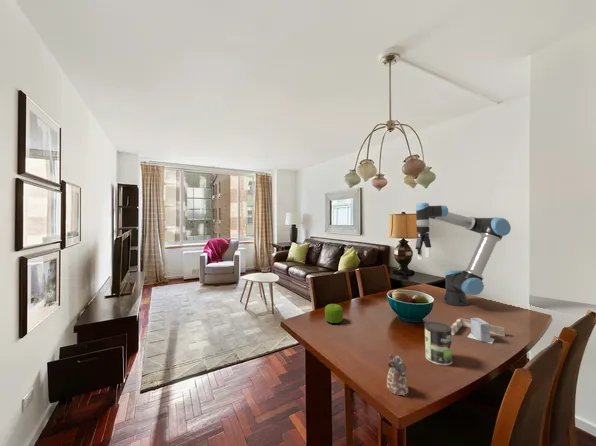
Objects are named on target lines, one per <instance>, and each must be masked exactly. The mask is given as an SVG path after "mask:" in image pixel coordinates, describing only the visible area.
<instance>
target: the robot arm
mask: <svg viewBox="0 0 596 446" xmlns="http://www.w3.org/2000/svg"><path fill="white" fill-rule="evenodd" d="M415 213H416V221H415V223H416V226H417V227H416V232H417V235H416V244H415V250H416V254H417V258H416V259H417V260H418V261H422V260H423V249H422V248H423V244H424V254H425V256H424V257H425V258H430V257H431V253H430V251H431V250H430V248H432V244H431V239H430V233H429V232H430V219H432V220H435V221H440V222H442V223H448V224H450V225H454V226H459V227H461V228H465V230H467V231H471V232H474V233H478V234H479V235H480V240H479V242H478V244H477V246H476V248H475V250H474V252H473V255H472V257H471V259H470V261H469V263H468V265H467V268H466V269H463V270H457V269H456V270H453V269H452V270H446V271H445V275H444V276H445V279H444V281H445V292H444V295H443V297H442V301H443V302H444V303H445V304H447V305H450V306H457V307H465V306H466V307H467V306H469V299H468V297H467V295H469V296H477V295H480V294H481V293H482V292H483V291H484V288H485V285H484V282H483V280H484V277H483V275H482V274H483V273H484V270H485V268H486V266H487V264H488V262H489V260H490V258H491V256H492V253H493V251H494V249H495V247H496V245H497V244H498V243H497V242H500V241H502V238H504V237H505V236H507V235H509V233H510V232H511V226H512V225H511V224H510V222H509V221H508V220H507V219H506V218H504V217H474V216H470V217H469V216H464V215H461V214H457V213H454V212H450V211H449V208H448V207H447V206H446V205H441V204H440V205H430V204H429V203H428V202H418V203H417V204H416V206H415Z"/></svg>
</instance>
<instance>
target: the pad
mask: <svg viewBox="0 0 596 446" xmlns="http://www.w3.org/2000/svg"><path fill="white" fill-rule="evenodd" d="M467 338H468V339H469V338H470V339H472V340H476V341H480V340H479V339H477V338H476V337H475V336H473V335H472V334H471V332H470V333H469V334H468V335H467ZM494 341H495V338H493V337H490V341H482V342H484V343H488V344H491V345H493V343H494ZM480 342H481V341H480Z"/></svg>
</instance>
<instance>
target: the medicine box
mask: <svg viewBox="0 0 596 446" xmlns="http://www.w3.org/2000/svg"><path fill="white" fill-rule="evenodd" d="M470 320H471V328H470V333H471V334H472V335H473V336H475V337H476V338H477V339H479V340H480V342H483V341H490V338H491V333H490V325H491V324H490V323H488V322H487V321H485V320H483V319H481V318H479V317H471V318H470ZM489 324H490V325H489ZM479 340H478V341H479Z"/></svg>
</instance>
